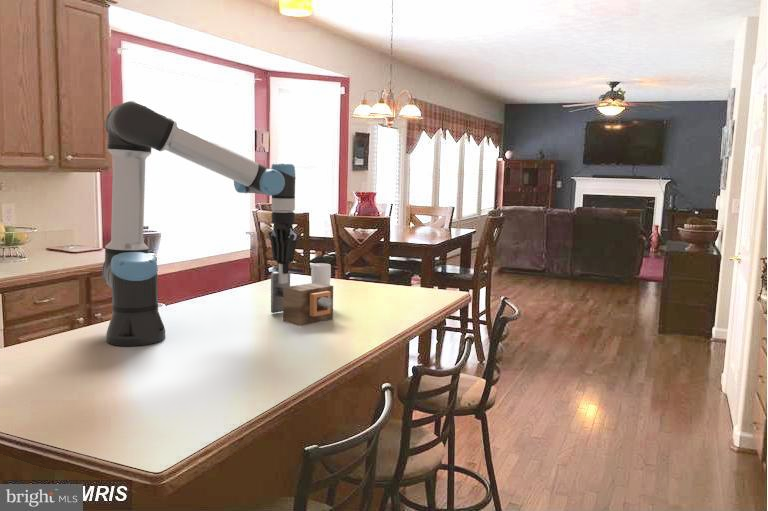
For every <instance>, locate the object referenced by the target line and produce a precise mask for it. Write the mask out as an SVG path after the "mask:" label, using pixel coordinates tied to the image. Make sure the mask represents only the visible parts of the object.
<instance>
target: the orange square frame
mask: <svg viewBox="0 0 768 511" xmlns="http://www.w3.org/2000/svg"><path fill="white" fill-rule="evenodd" d="M319 297H326V298H331V292H330V291H322V292H316V293H310V316H319V315H324V314H329V313H330V309H331V307H330V308H326V307H323V309H321V310H317V298H319Z"/></svg>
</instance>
